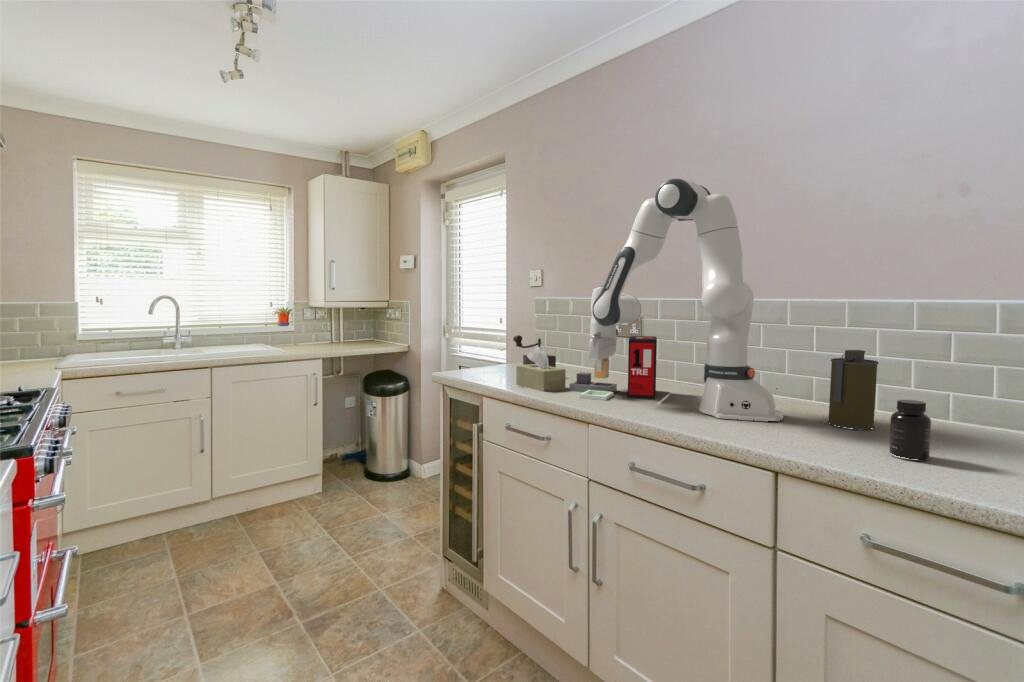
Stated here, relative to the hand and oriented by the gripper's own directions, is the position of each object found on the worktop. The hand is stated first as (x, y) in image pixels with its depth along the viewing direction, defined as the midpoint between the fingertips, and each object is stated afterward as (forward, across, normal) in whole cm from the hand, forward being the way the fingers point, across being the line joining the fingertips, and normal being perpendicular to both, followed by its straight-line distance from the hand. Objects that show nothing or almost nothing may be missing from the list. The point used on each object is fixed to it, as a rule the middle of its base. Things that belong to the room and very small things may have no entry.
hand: (601, 370), depth 181 cm
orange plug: (+2, 0, 0) cm, 2 cm away
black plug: (+8, 0, +7) cm, 10 cm away
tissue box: (+9, -1, +23) cm, 25 cm away
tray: (+8, -10, -2) cm, 13 cm away
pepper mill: (+9, +20, +36) cm, 42 cm away
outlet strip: (+8, 0, +3) cm, 9 cm away
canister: (+7, -14, -73) cm, 75 cm away
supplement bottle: (+7, -40, -81) cm, 91 cm away
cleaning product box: (+8, +2, -14) cm, 16 cm away
